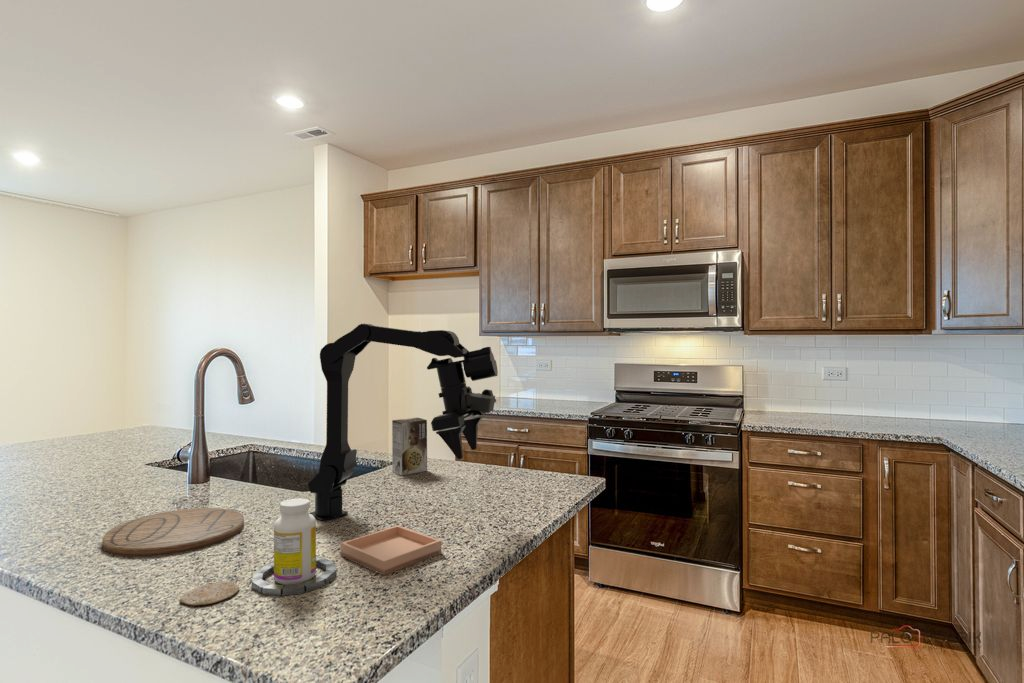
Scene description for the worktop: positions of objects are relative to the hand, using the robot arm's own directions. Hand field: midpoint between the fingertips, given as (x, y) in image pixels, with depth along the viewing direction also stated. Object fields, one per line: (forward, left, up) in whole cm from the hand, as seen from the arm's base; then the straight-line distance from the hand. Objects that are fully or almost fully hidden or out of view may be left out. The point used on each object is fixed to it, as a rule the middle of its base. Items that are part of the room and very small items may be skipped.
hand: (467, 453), depth 122 cm
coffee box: (-47, +22, -15) cm, 55 cm away
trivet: (-40, -45, -16) cm, 62 cm away
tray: (+3, -23, -15) cm, 27 cm away
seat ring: (-1, -40, -15) cm, 43 cm away
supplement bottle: (-1, -40, -15) cm, 43 cm away
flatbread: (-5, -52, -16) cm, 54 cm away
